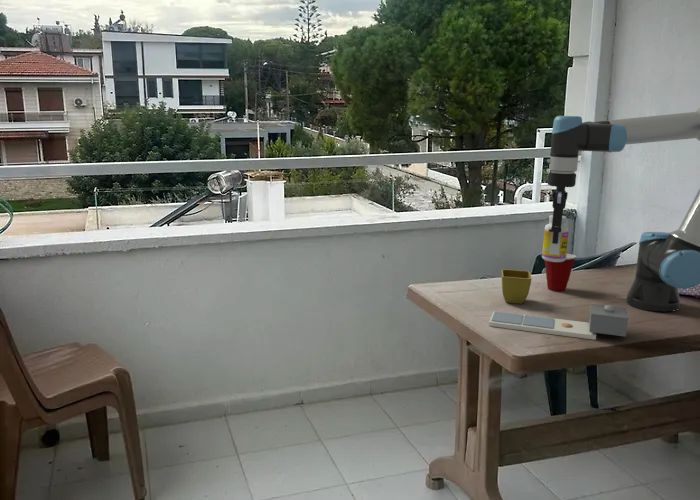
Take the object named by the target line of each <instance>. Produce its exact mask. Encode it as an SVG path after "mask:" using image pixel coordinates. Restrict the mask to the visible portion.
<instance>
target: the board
mask: <svg viewBox="0 0 700 500" xmlns="http://www.w3.org/2000/svg"><path fill="white" fill-rule="evenodd" d="M488 326H489V327H494V328H501V329H509V330H510V329H511V330H519V331H525V332H533V333H538V334H539V333H541V334H549V335H557V336H564V337H570V338H578V339H579V338H580V339H586V340H595V341H596V340H597V333H594V332H589V322H586V321H585V322H584V321H577V320H570V319H561V318H552V317H544V316H537V315H536V316H535V315H528V314H519V313H513V312H505V311H504V312H503V311H498V310H497V311H496V310H494V311H492V314H491V316H490V318H489V321H488Z"/></svg>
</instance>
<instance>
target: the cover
mask: <svg viewBox="0 0 700 500" xmlns="http://www.w3.org/2000/svg"><path fill="white" fill-rule="evenodd" d="M588 316H589V317H588V318H589V319H588V323H589V332H594V333H596V334H602V335H611V336H617V337H618V336H619V337H627V331H628V323H629V315H628V311H627V308H626V307H622V306H614V305H611V304H605V305H604V304H597V303H596V304H595V303H590V307H589V315H588Z"/></svg>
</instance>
